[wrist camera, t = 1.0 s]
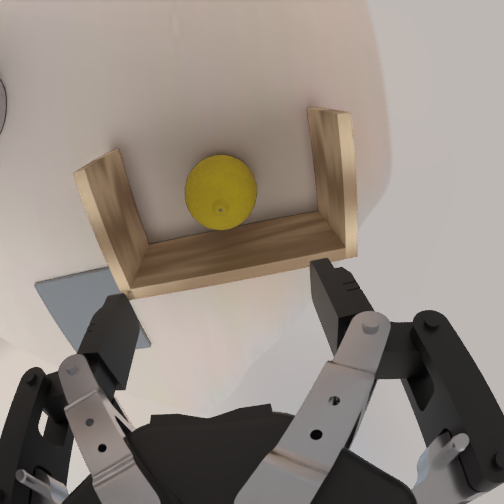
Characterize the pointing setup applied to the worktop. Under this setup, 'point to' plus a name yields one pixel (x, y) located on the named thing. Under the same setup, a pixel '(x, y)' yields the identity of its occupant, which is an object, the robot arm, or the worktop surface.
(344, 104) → the worktop surface
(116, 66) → the worktop surface
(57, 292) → the slate coaster
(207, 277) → the open u-shaped oak frame
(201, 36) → the worktop surface
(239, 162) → the lemon
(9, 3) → the worktop surface
